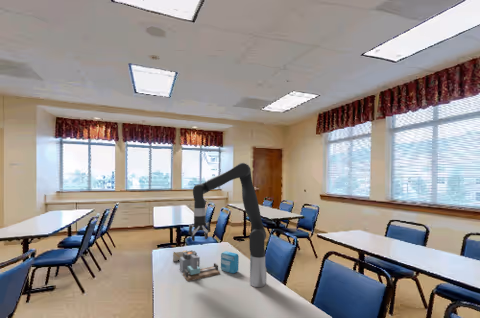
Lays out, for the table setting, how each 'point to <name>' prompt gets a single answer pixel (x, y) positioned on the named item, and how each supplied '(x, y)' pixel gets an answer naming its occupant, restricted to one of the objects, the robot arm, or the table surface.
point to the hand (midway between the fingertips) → (199, 239)
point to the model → (177, 255)
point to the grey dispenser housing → (188, 260)
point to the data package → (229, 262)
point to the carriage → (193, 266)
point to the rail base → (202, 273)
